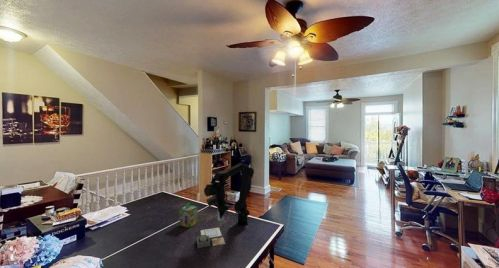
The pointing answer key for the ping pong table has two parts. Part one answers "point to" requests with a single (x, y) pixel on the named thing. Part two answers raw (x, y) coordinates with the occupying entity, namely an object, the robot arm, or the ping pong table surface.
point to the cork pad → (218, 241)
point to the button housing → (203, 244)
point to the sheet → (211, 232)
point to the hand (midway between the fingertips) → (220, 216)
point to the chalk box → (188, 215)
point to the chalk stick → (219, 217)
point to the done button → (203, 238)
